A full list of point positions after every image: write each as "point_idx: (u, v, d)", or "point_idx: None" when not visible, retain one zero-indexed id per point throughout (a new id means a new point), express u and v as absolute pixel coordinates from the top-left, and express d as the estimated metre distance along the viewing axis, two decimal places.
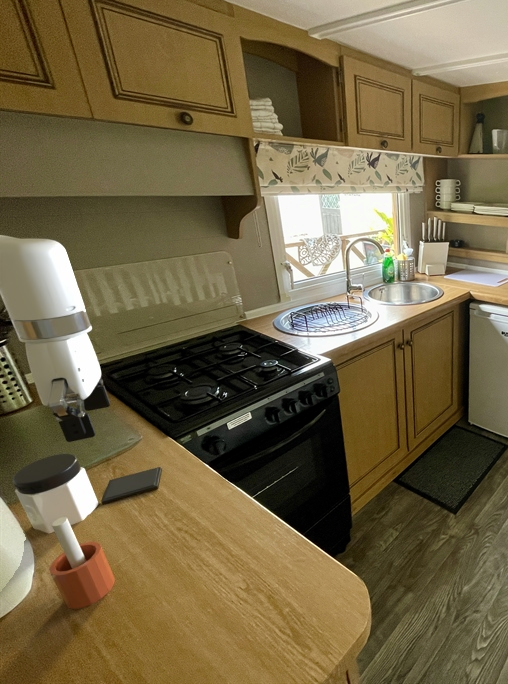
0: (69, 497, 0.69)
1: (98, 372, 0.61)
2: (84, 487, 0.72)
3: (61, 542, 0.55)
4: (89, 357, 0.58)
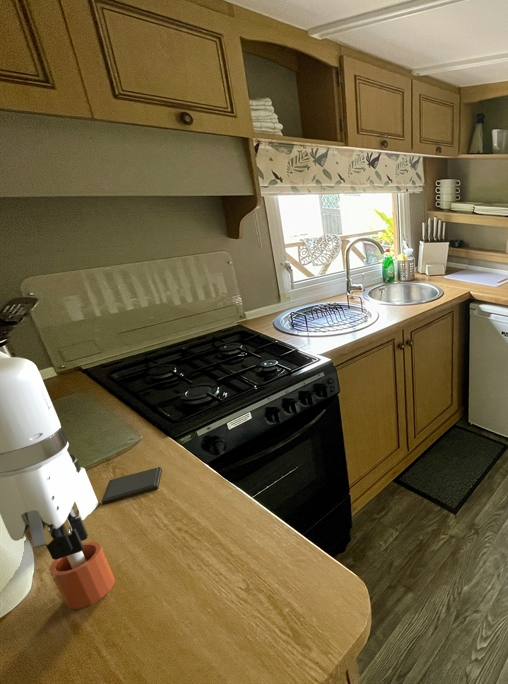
0: None
1: (77, 485, 0.56)
2: (84, 487, 0.72)
3: None
4: (66, 476, 0.53)
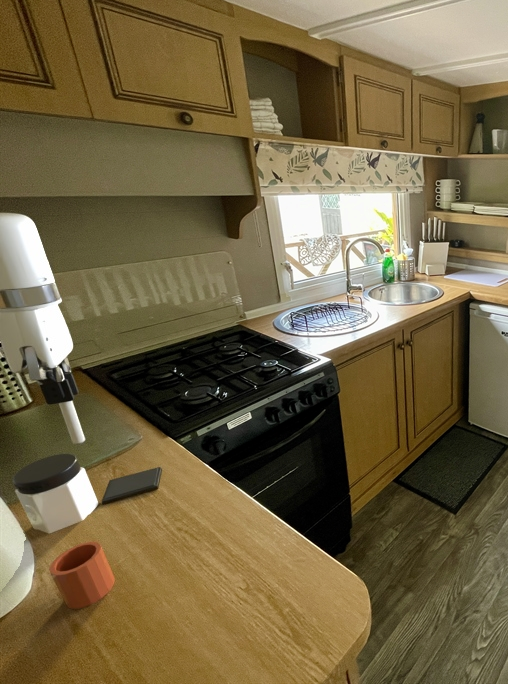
0: (69, 497, 0.69)
1: (69, 344, 0.64)
2: (84, 487, 0.72)
3: None
4: (59, 329, 0.61)
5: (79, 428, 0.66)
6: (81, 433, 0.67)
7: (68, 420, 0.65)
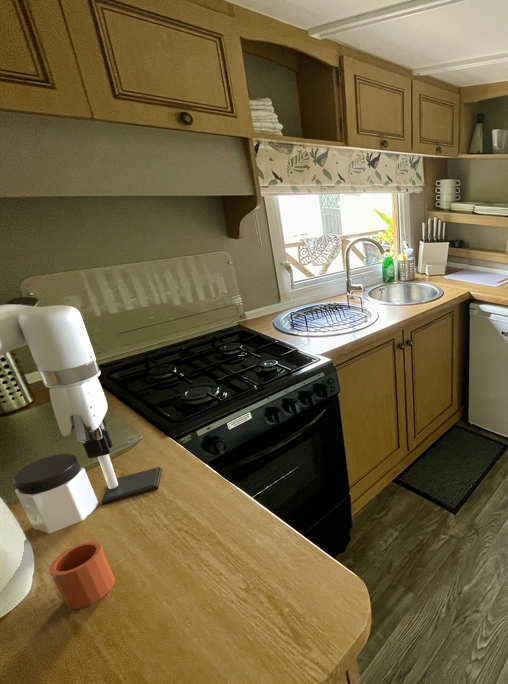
0: (69, 497, 0.69)
1: (105, 406, 0.76)
2: (84, 487, 0.72)
3: None
4: (98, 395, 0.73)
5: (114, 475, 0.78)
6: (115, 479, 0.78)
7: (105, 470, 0.76)
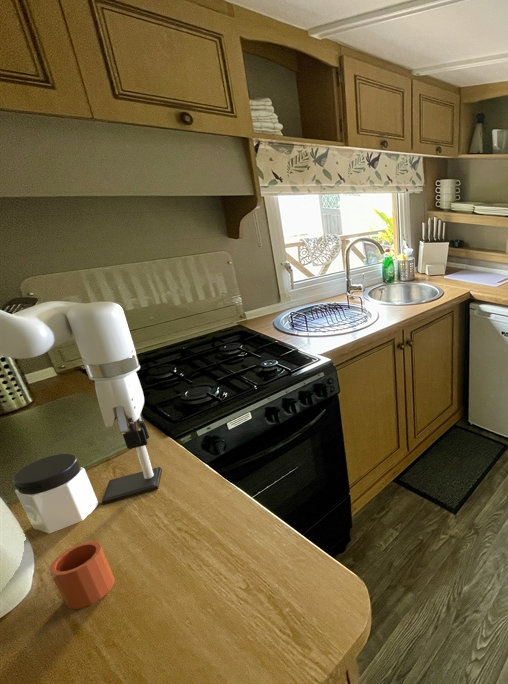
0: (69, 497, 0.69)
1: (142, 399, 0.79)
2: (84, 487, 0.72)
3: None
4: (137, 388, 0.76)
5: (150, 466, 0.81)
6: (151, 470, 0.81)
7: (142, 460, 0.79)
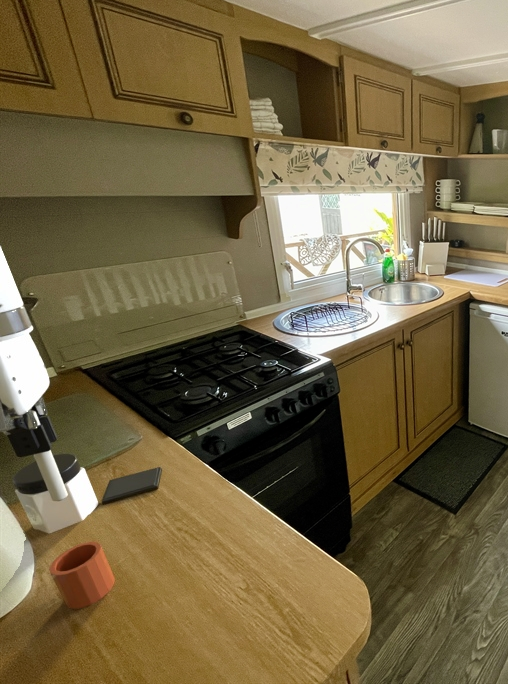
0: (69, 497, 0.69)
1: (44, 381, 0.52)
2: (84, 487, 0.72)
3: None
4: (30, 363, 0.49)
5: (60, 482, 0.54)
6: (62, 487, 0.54)
7: (46, 474, 0.53)
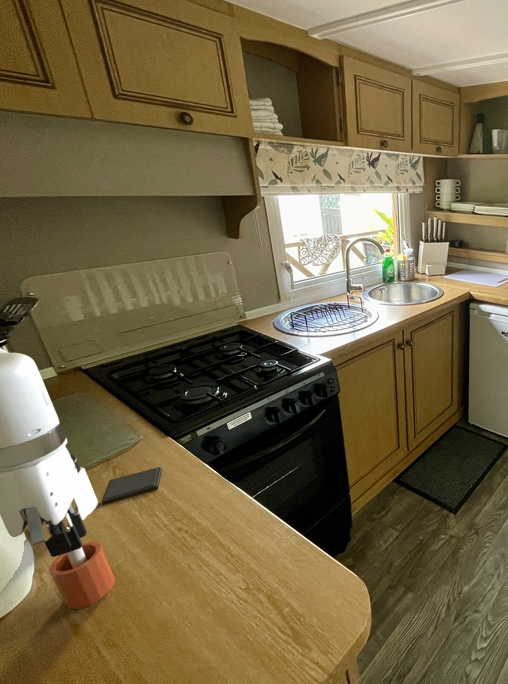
0: None
1: (76, 482, 0.56)
2: (84, 487, 0.72)
3: None
4: (64, 472, 0.53)
5: None
6: None
7: None
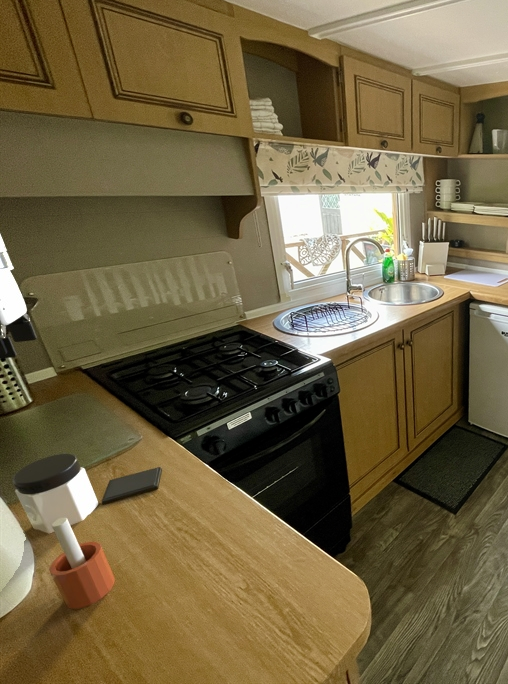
0: (69, 497, 0.69)
1: (22, 307, 0.74)
2: (84, 487, 0.72)
3: (60, 542, 0.55)
4: (12, 292, 0.71)
5: None
6: None
7: None
